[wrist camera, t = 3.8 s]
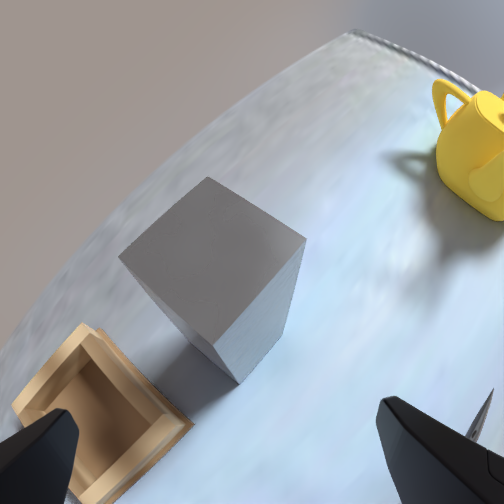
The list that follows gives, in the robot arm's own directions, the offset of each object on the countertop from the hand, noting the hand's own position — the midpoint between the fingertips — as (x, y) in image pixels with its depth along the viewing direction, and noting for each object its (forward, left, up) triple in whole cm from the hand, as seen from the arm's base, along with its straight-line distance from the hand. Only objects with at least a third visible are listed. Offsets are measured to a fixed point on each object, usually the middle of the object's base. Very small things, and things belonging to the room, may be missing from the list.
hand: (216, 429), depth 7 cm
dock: (-7, +7, -12) cm, 15 cm away
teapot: (+34, -5, -12) cm, 36 cm away
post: (+4, +4, -12) cm, 13 cm away
